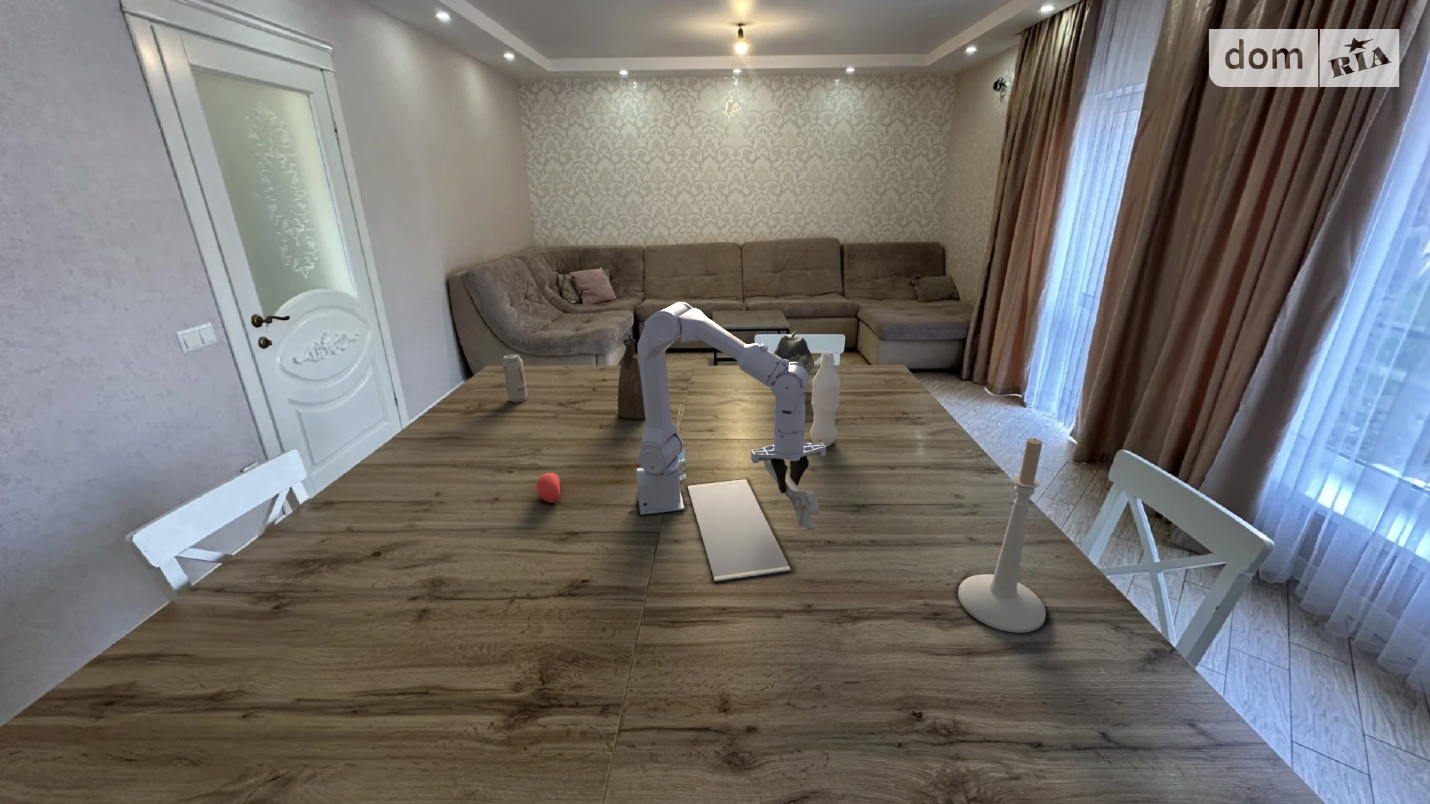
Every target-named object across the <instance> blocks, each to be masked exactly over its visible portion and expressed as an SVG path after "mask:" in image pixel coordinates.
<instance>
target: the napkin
mask: <svg viewBox="0 0 1430 804" xmlns="http://www.w3.org/2000/svg"><path fill="white" fill-rule="evenodd" d="M687 490H688V495H689V497H690V500H691V504H692V507H693V510H694V514H695V518H696V521H697V525H698V528H699V533H700V536H701V538H702V543H703V545H704V549H705V552H706V553H705V554H706V556H707V560H708V562H709V566H710V570H711V573H712V578H713V581H714V583H717V582H726V581H732V580H739V579H747V578H753V577H762V576H769V575H774V574H781V573H789V572H792V568H791V567H790V566H789V563H788V562H787V558H786V557H785V555H784V552H783V551H782V549H781V547H780V545H779V543H778V540H777V539H776V537H775V535H774V533H773V530H772V528H771V527H770V525H769V522H768V520H767V518H766V517H765V515H764V512H763V511H762V508H761V507H760V505H759V503H758V501H757V498H756V496H755V495H754V493H753V491H752V489H751V486H750V485H749V482H748V481H747V478H745V479H735V480H727V481H717V482H709V483H700V484H699V483H698V484H691V485H687Z"/></svg>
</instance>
